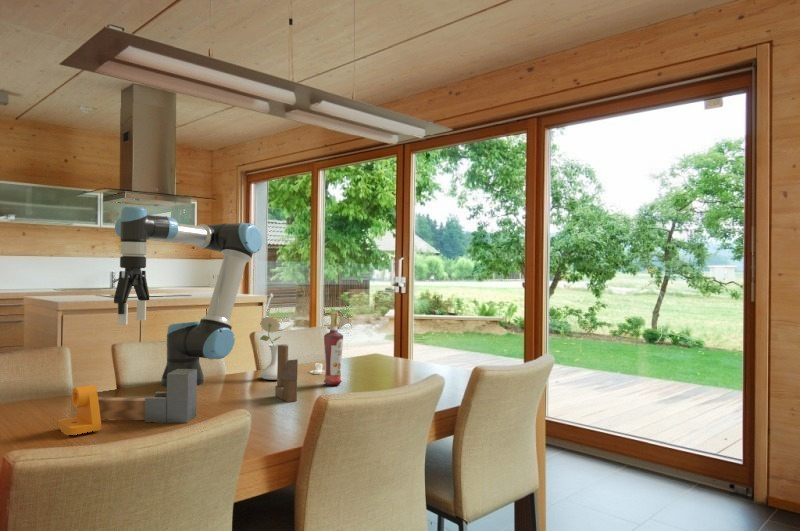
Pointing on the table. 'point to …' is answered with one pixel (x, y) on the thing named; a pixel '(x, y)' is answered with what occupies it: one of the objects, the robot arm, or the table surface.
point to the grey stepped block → (174, 399)
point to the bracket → (83, 412)
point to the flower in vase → (270, 326)
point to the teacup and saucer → (318, 369)
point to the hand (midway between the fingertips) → (132, 322)
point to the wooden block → (286, 376)
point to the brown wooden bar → (122, 408)
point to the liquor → (333, 353)
